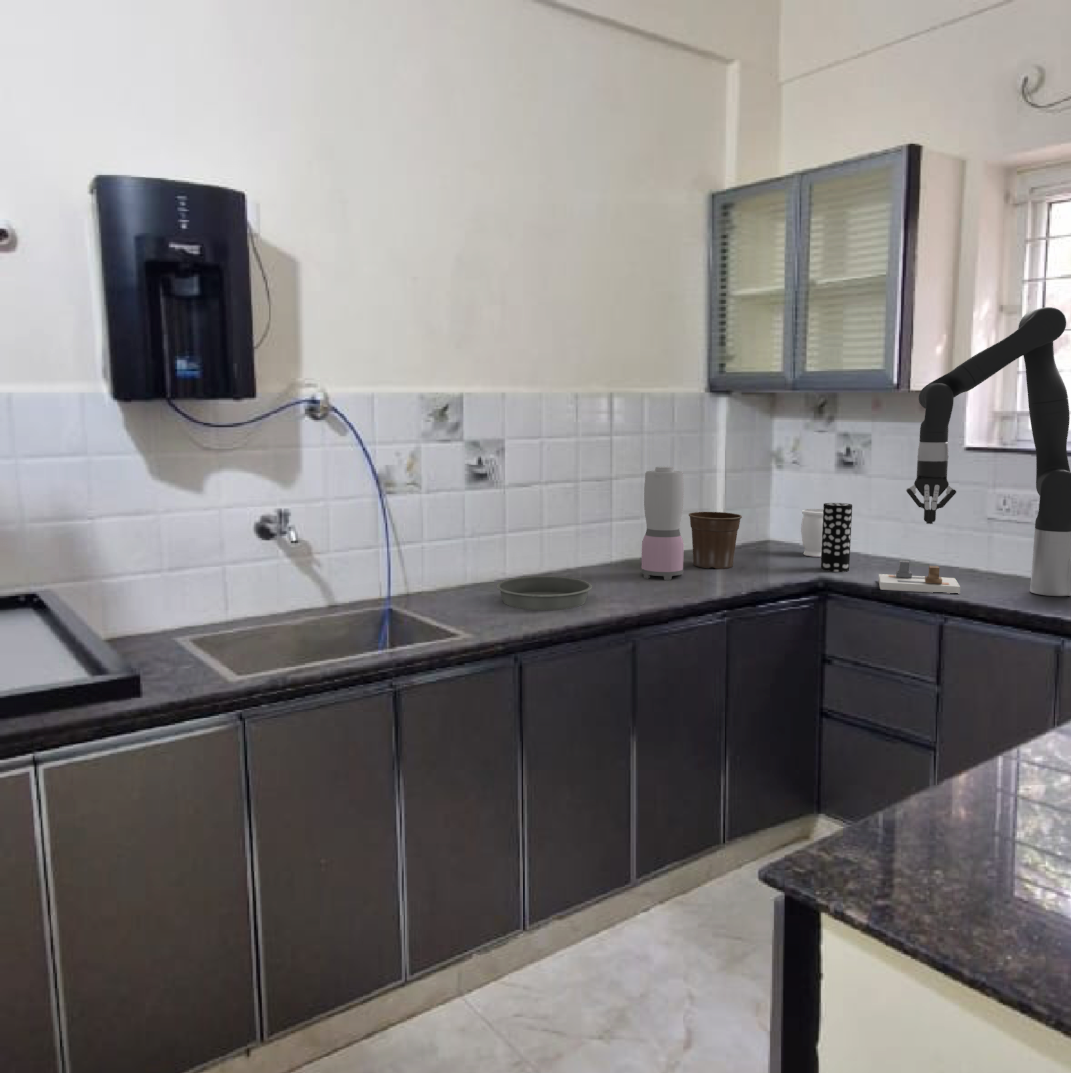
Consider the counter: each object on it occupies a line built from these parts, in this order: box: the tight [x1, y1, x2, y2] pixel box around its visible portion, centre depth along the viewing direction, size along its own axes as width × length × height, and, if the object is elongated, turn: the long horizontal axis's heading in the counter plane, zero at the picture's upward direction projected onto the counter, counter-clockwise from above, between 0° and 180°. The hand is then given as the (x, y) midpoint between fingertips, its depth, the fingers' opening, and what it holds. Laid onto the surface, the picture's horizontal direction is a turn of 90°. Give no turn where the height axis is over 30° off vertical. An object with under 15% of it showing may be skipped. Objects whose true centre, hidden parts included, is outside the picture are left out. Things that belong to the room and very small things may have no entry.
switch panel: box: [878, 573, 961, 595], centre depth 263 cm, size 20×13×2 cm, turn 72°
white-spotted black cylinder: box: [820, 502, 853, 573], centre depth 289 cm, size 8×8×20 cm
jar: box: [800, 508, 823, 558], centre depth 316 cm, size 11×10×15 cm
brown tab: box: [925, 565, 942, 584], centre depth 258 cm, size 4×4×4 cm
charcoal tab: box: [895, 559, 913, 578], centre depth 267 cm, size 4×4×4 cm
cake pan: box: [496, 575, 593, 611], centre depth 244 cm, size 25×25×4 cm
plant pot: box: [688, 511, 743, 570], centre depth 295 cm, size 16×16×16 cm
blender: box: [640, 465, 685, 581], centre depth 278 cm, size 16×12×32 cm
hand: (929, 523), depth 257 cm, fingers closed
